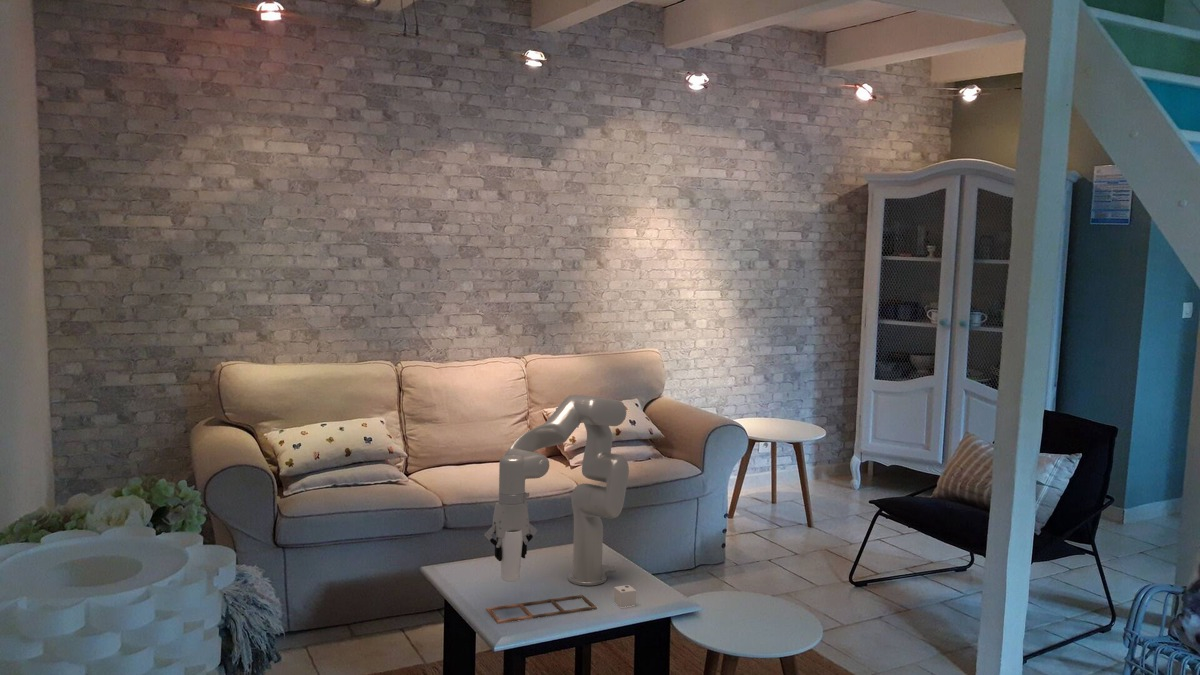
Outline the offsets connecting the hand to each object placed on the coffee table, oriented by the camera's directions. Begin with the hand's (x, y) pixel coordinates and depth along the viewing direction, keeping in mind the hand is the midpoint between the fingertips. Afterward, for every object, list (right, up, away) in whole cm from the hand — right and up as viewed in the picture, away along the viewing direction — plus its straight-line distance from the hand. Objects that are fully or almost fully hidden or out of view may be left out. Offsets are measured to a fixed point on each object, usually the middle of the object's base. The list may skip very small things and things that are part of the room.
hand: (510, 557), depth 265 cm
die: (+34, -17, +11) cm, 39 cm away
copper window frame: (+9, -17, +6) cm, 20 cm away
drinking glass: (0, -7, 0) cm, 7 cm away
